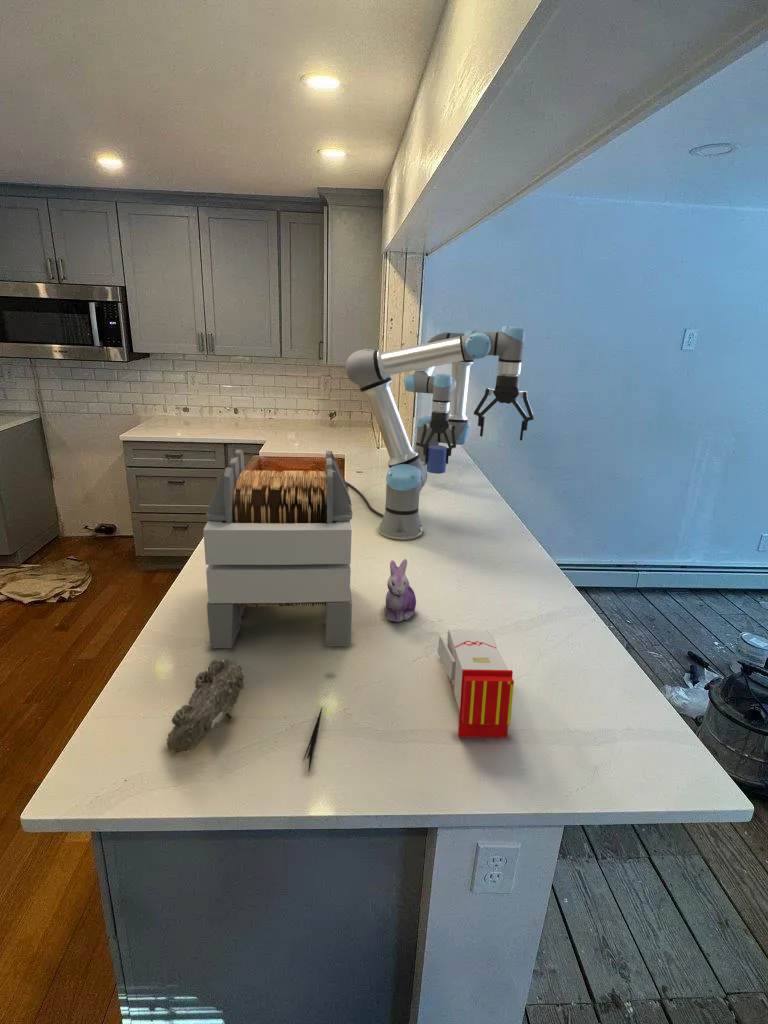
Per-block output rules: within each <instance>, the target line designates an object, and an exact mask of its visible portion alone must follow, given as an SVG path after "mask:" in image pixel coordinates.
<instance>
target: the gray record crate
mask: <svg viewBox="0 0 768 1024" xmlns="http://www.w3.org/2000/svg"><path fill="white" fill-rule="evenodd" d="M307 471H308V470H307ZM307 471H305V470H282V471H276V470H264V469H263V470H262V469H261V470H256V469H255V470H254V469H253V470H249V469H245V454H244V449H238V448H237V449H235V451H234V454H233V456H231V458H230V460H229V462H228V465H227V467H225V468H224V471H223V473H222V475H221V477H220V480H219V481H218V484H217V487H216V489H215V491H214V493H213V496H212V498H211V500H210V502H209V504H208V506H207V509H206V512H205V516H206V520H207V521H206V524H205V526H204V527H203V530H202V531H203V545H204V559H205V561H204V562H205V565H206V566H207V567H206V570H205V574H206V575H205V576H206V588H207V589H206V590H207V603H206V611H207V612H206V614H207V626H208V634H209V645H208V647H209V648H210V649H212V650H216V649H232V648H233V645H234V643H235V640H236V638H237V635H238V633H239V631H240V628H241V625H242V623H241V617H244V614H245V613H244V612H245V610H246V607H248V608H249V607H252V608H253V607H254V608H255V607H258V608H259V607H260V608H261V607H300V606H301V607H307V606H309V607H310V606H312V607H315V606H316V607H317V606H319V607H320V606H324V607H325V608H324V609H325V647H345V648H347V647H349V646H350V645H352V620H353V617H352V616H353V614H352V613H353V600H352V592H351V571H352V570H351V564H352V563H351V562H352V561H351V560H352V533H353V530H352V529H353V528H352V523H351V520H352V519H353V508H352V507H353V506H352V501H351V495H350V487H349V486H348V485H347V484H346V482H347V481H346V480H345V478H344V475H343V473H342V470H341V469H340V467H339V463H338V462H337V460H336V457H335V456H334V453H333V451H332V450H325V470H324V472H323V471H320V470H319V471H317V470H309V471H308V472H307ZM325 471H326V472H325Z"/></svg>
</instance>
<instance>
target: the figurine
mask: <svg viewBox="0 0 768 1024" xmlns="http://www.w3.org/2000/svg"><path fill="white" fill-rule="evenodd" d="M407 567H408V559H406V558H404V559H403V560H402V561H401V563H400V565H399V566H398V565H397V563H396V562H395V561H394V560H393V559H391V560H390V561H389V570H390V576H389V578H388V579H387V589H388V591H387V592H386V594H385V595H386V596H385V607H384V615H385V616H386V620H387V621H391V622H395V623H400V622H402V621H406V620H409V619H410V618H411V617H413V616H414V615H415V610H416V606H417V597H416V593H415V591H414V590H413V587H411V586H410V582H409V579H408V577H407V574H406V571H407Z"/></svg>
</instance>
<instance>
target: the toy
mask: <svg viewBox="0 0 768 1024" xmlns="http://www.w3.org/2000/svg"><path fill="white" fill-rule="evenodd" d="M446 640H447V643H446V641H445V639H444V636H443V635H442V634H439V637H438V646H437V656H438V657H439V659H440V661H441V663H442V666H443V668H444V670H445V672H446V674H447V677H448V679H449V681H450V684H451V687H452V690H453V693H454V697H455V701H456V705H457V708H458V711H459V714H458V715H459V716H458V730H457V731H458V732H457V737H458V738H508V731H509V726H510V725H511V717H512V707H513V697H514V696H513V695H514V684H515V680H514V679H513V673H514V671H513V670H512V669H508V667H507V665H506V662H505V661H504V659H503V658H502V655H501V653H500V651H499V649H498V647H497V643H496V639H495V637H494V635H493V634H491V632H490V631H489V629H467V628H466V629H465V628H463V629H461V628H460V629H459V628H448V630H447V639H446Z"/></svg>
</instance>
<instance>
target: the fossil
mask: <svg viewBox="0 0 768 1024" xmlns="http://www.w3.org/2000/svg"><path fill="white" fill-rule="evenodd" d="M243 670H244V669H243V667H242V665H240V664H237V662H236V661H235V660H234V659H232V658H231V659H227V658H226V659H224V660H223V661H222V660H217V659H212V660H211V661H210V663H209V665H208V666H207V671H201V672H199V673H198V674H197V675H196V676H195V680H194V684H195V685H194V687H195V689H194V690H193V693H192V694H191V697H190V698H189V700H188V704H184V705H182V706H181V707H180V709H177V710H176V711H175V713H174V715H173V716H172V718H171V723H172V724H173V727H172V730H171V731H170V732H168V734H167V738H166V741H167V742H166V745H167V749H168V750H169V751H173V752H174V753H176V754H178V753H182V752H188V751H189V752H192V751H193V750H195V748H196V747H197V746H199V744H200V743H201V742H203V741H204V740H205V739H206V738H207V737H208V736H209V735H210V734H211V733H212V732H214V730H215V729H217V727H218V726H219V724H220V722H221V721H222V720H223V719H224V718H225V716H226V717H227V719H229V720H233V717H232V715H230V714H229V710H230V709H231V708H234V706H235V704H236V703H237V702H238V699H239V697H240V695H241V693H242V691H243V690H245V689H244V688H245V675H244V671H243Z"/></svg>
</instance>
